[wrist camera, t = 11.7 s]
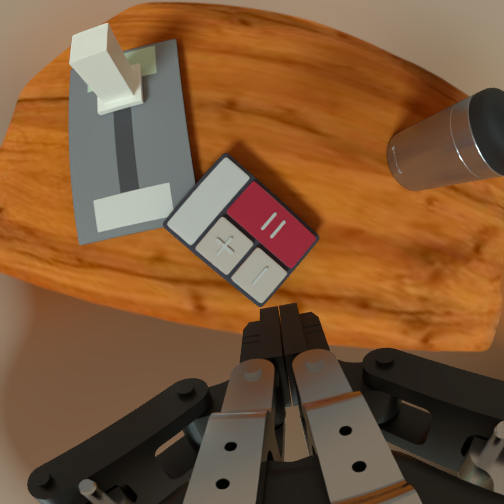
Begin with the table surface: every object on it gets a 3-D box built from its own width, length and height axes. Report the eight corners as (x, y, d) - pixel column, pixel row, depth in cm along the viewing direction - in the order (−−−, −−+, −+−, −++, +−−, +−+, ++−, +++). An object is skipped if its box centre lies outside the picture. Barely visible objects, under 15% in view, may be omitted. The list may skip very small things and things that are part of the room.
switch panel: (177, 44, 34) (175, 38, 32) (202, 219, 36) (201, 219, 34) (74, 73, 32) (70, 69, 31) (84, 244, 35) (79, 245, 33)
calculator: (262, 310, 34) (159, 224, 32) (256, 301, 38) (165, 224, 36) (323, 238, 34) (225, 149, 32) (311, 236, 39) (223, 157, 36)
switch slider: (141, 66, 32) (117, 13, 20) (143, 103, 33) (116, 54, 21) (99, 78, 31) (65, 32, 20) (100, 115, 32) (59, 75, 20)
